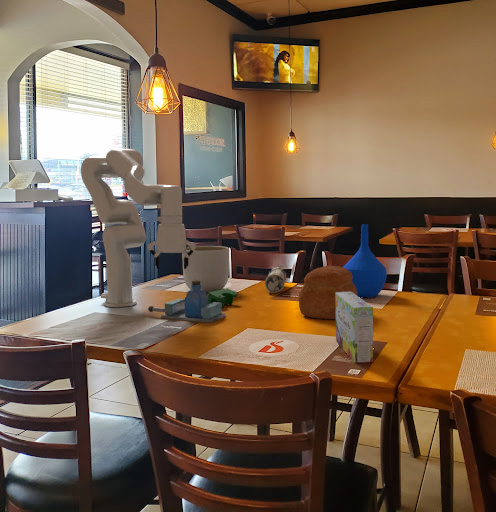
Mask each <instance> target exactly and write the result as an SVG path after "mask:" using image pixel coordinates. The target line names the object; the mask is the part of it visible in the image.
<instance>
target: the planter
mask: <svg viewBox="0 0 496 512" xmlns="http://www.w3.org/2000/svg"><path fill="white" fill-rule="evenodd" d="M190 250H191V247H190V246H186V251H187V252H189V251H190ZM184 257H185V256H184V255H183V254H182V253H181V258H182V260H181V261H182V274H183V280H184V284H185V286H186V287H187V288H188V289H189V291H191V290H192V288H191V285H192V281H196V280H198V281H201V282H200V284H201V288H200V290H204V291H205V292H206V294H208V293H209V292H213V291H218V290H222V289H225V288H224V287H226V286H227V284H228V282H229V274H230V272H229V271H230V248H229V247H227V246H222V245H198V246H197V245H196V248H195V250H194V252H193V253H192V254H191V255H190V256H189V257H188V266H187V268H186V269H184Z"/></svg>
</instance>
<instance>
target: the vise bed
mask: <svg viewBox="0 0 496 512" xmlns="http://www.w3.org/2000/svg"><path fill="white" fill-rule="evenodd" d="M222 310H223V308H222V303H219V302H213V303H211V304H208V305H206V306H204V307H202V317H193V316H185V310H184V311H182V312H179V313H177V314H174V315H165V313H164V314H161V315H160V318H161V319H167V320H175V321H176V320H177V321H189V322H196V323H197V322H198V323H208V324H209V323H210V324H213V323H214V322H216V321H218V320H219V321H220V320H221V319H223V318H225V317H226V313H225V312H223V311H222Z"/></svg>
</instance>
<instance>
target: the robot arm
mask: <svg viewBox="0 0 496 512" xmlns="http://www.w3.org/2000/svg"><path fill="white" fill-rule="evenodd" d="M143 158H144V157H143V155H142V154H141V153H140V152H139V151H138V150H136V149H134V148H133V149H132V148H113V149H111V150H109V151H108V152H107V154H106V155H93V156H88V157H85V159H83V161H82V162H81V166H80V175H81V179H82V182H83V184H84V186H85V188H86V190H87V191H88V193H89V195H90V198H91V200H92V203H93V206H94V208H95V211H96V213H97V216H98V219H99V221H100V222H101V223H102V224H104V225H109V226H106V228H105V229H104V230H103V232H102V243H103V245H104V246H103V247H104V251H105V261H106V266H105V267H106V279H107V280H106V282H107V283H106V285H107V287H106V288H107V292H102V293H101V294H100V298H101V299H105V301H104V302H103V305H104V306H105V307H107V308H126V307H131V306H135V305H137V304H138V303H137V301H138V300H136V299H135V298H133V275H132V274H133V273H132V258H131V256H130V254H129V253H128V251H127V249H131V248H133V249H134V248H139V247H141V246H143V245H144V244H145V242H146V240H147V234H146V230H145V227H144V224H143V222H142V218H141V216H140V214H139V211H138V209H137V207H136V205H135V204H138V205H139V206H144V207H149V206H150V207H151V206H160V216H156V221H157V222H160V223H159V224H158V226H157V231H156V234H157V235H156V240H155V241H154V240H153V242H151V243H149V244H147V245H146V246H147V247H146V248H147V249H148V250H149V253H150V254H151V255H152V256H153V258H154V266H155V267H156V269H157V270H158V269H160V268H161V256H160V254H161V253H163V254H164V253H165V254H181V255H182V254H183V255H184V256H185V257H184V269H186V268H187V266H188V257H189V256H190V255H191V254H192V253H193V252H194V250H195V248H196V246H197V245H196V244H194V243H192V242H191V241H189V240H187V237H186V236H187V235H186V229H185V224H184V223H183V189H182V187H181V186H179V185H175V184H174V185H173V184H172V185H170V184H169V185H167V184H154V183H152V184H144V183H142V182H141V181H142V180H143V178H144V176H145V168H144V167H143V165H144V159H143ZM102 178H103V179H107V178H108V179H109V178H111V179H114V178H115V179H117V178H121V179H122V180H123V181H124V182H123V183H124V184H123V185H124V190H125V193H126V194H127V196H128V197H129V198H130V199H131V200H132V201H133V202H135V204H134V203H133V202H132V201H131V200H127V199H117V198H116V196H115V195H114V192H113V190H112V188H111V187H110V185H109V184H108V183H107V181H104V180H103V179H102ZM154 246H156V250H155V249H154V248H153V247H154ZM186 247H191V250H190V251H189V252H187V251H186Z"/></svg>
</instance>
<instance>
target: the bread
mask: <svg viewBox="0 0 496 512" xmlns="http://www.w3.org/2000/svg"><path fill="white" fill-rule="evenodd" d="M352 279H353V276H352V274H351V272H350V271H349V270H347V269H346V268H344V266H340V265H339V266H338V265H324V266H322V267H317V268H314V269H313V270H311V271H310V272H307V274H306V275H305V277H304V278H303V283H304V284H303V286H302V288H301V289H300V291H299V294H298V307H299V310H300V311H299V312H300V313H301V315H302V316H305V317H308V318H314V319H321V320H336V304H335V293H336V292H353V293H354V294H355V295H357V290H356V287H355V285H354V284H353V282H352Z"/></svg>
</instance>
